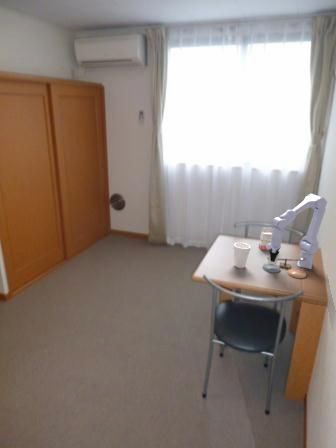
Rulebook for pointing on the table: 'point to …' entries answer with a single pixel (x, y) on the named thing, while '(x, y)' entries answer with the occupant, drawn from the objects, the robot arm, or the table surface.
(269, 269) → the dish slate
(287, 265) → the balance
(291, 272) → the dish terracotta
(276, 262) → the cream block
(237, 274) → the table surface
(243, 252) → the foam cup
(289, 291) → the table surface
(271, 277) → the table surface
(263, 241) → the ink cartridge box
